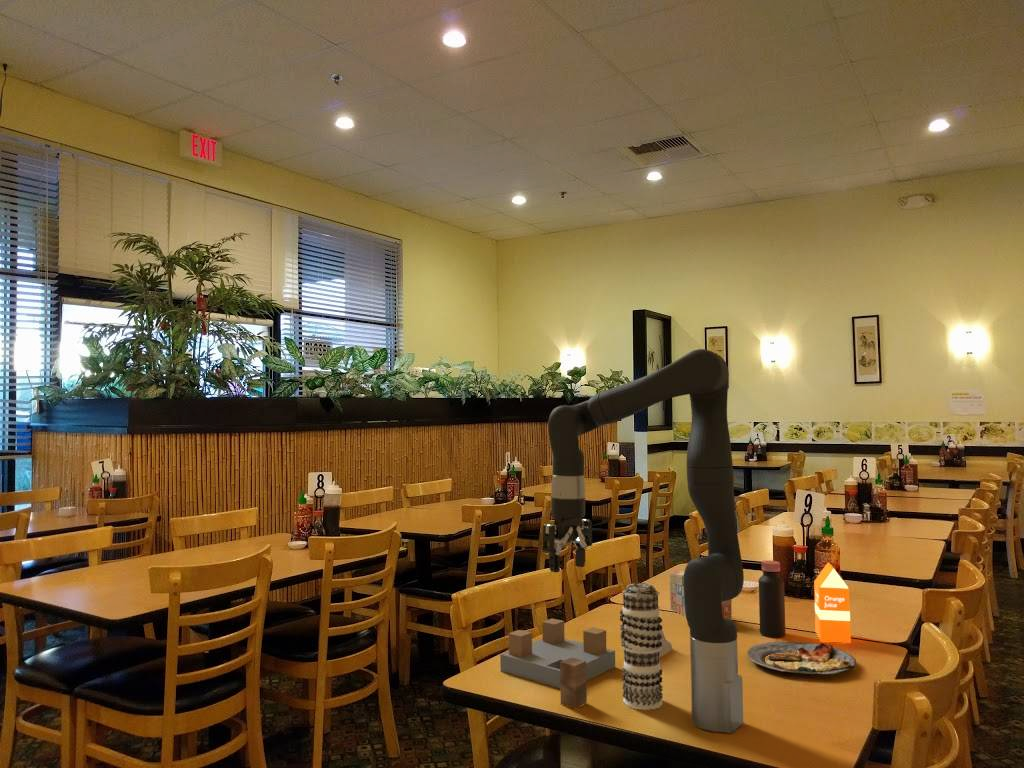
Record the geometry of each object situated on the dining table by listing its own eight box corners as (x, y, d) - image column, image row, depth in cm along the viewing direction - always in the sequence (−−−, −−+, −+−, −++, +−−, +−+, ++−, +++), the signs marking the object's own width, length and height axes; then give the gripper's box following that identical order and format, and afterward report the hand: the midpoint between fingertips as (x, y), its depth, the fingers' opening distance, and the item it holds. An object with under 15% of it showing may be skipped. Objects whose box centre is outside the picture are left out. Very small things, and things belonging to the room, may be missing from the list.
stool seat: (615, 666, 184) (614, 630, 184) (565, 690, 169) (565, 650, 169) (551, 650, 197) (551, 616, 198) (500, 670, 182) (500, 633, 183)
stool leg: (586, 703, 161) (586, 661, 162) (575, 708, 158) (574, 665, 159) (571, 698, 164) (571, 657, 164) (560, 704, 161) (560, 661, 161)
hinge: (644, 666, 184) (631, 625, 186) (628, 669, 187) (615, 629, 189) (673, 649, 197) (661, 611, 200) (658, 652, 200) (646, 614, 202)
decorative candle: (612, 702, 162) (610, 585, 162) (637, 691, 168) (635, 578, 169) (647, 714, 155) (645, 592, 156) (672, 701, 161) (670, 585, 162)
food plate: (848, 652, 192) (847, 638, 193) (865, 685, 170) (864, 669, 170) (746, 648, 199) (746, 634, 199) (750, 679, 177) (749, 664, 177)
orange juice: (820, 642, 201) (818, 567, 202) (815, 632, 210) (813, 560, 211) (851, 643, 200) (849, 568, 200) (845, 634, 208) (843, 561, 209)
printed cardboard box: (732, 625, 218) (731, 583, 219) (715, 628, 216) (714, 585, 216) (686, 608, 238) (685, 569, 238) (669, 611, 235) (669, 571, 235)
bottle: (782, 631, 212) (780, 559, 213) (788, 638, 205) (786, 564, 206) (757, 630, 212) (755, 559, 213) (763, 637, 206) (761, 564, 206)
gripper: (559, 499, 158) (559, 576, 158) (601, 494, 168) (601, 567, 168) (533, 496, 164) (533, 571, 163) (575, 492, 174) (575, 562, 173)
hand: (567, 569), depth 165 cm, fingers open, 8 cm apart
